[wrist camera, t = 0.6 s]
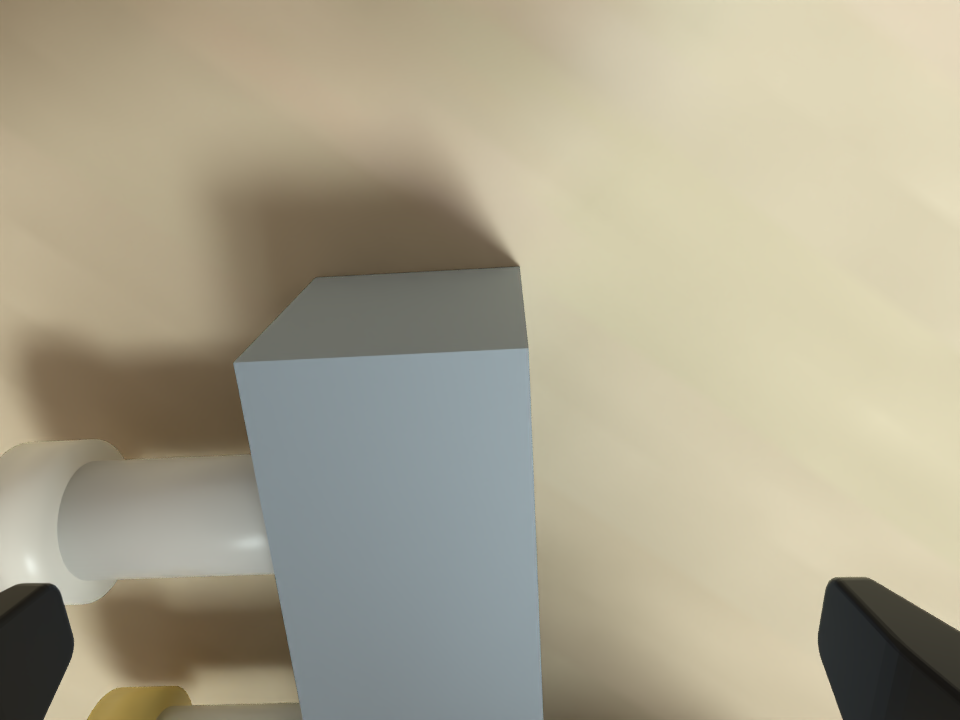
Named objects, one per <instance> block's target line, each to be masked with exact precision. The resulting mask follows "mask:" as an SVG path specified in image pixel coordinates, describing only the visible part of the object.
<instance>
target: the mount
mask: <svg viewBox="0 0 960 720" xmlns="http://www.w3.org/2000/svg"><path fill="white" fill-rule="evenodd" d="M233 364H234V369H235V374H236V379H237V384H238V389H239V395H240V400H241V405H242V410H243V415H244V420H245V425H246V430H247V436H248V441H249V446H250V451H251V456H252V461H253V466H254V471H255V477H256V482H257V487H258V492H259V497H260V502H261V507H262V512H263V518H264V523H265V528H266V533H267V538H268V543H269V548H270V553H271V559H272V564H273V569H274V574H275V579H276V584H277V589H278V595H279V600H280V605H281V610H282V615H283V620H284V625H285V630H286V636H287V641H288V646H289V651H290V656H291V661H292V666H293V671H294V677H295V682H296V687H297V692H298V697H299V702H300V707H301V712H302V718H303V720H543V699H542V674H541V649H540V624H539V599H538V575H537V550H536V525H535V500H534V475H533V450H532V425H531V400H530V375H529V350H528V340H527V331H526V321H525V312H524V303H523V294H522V284H521V275H520V267H502V268H483V269H465V270H446V271H428V272H409V273H391V274H372V275H354V276H335V277H317V278H315V279H314V280H313V281H312V282H311V283H310V284H309V285H308V286H307V287H306V288H305V289H304V290H303V291H302V292H301V293H300V294H299V295H298V296H297V297H296V298H295V299H294V300H293V301H292V302H291V304H290V305H289V306H288V307H287V308H286V309H285V310H284V311H283V312H282V313H281V314H280V315H279V316H278V317H277V318H276V319H275V320H274V321H273V322H272V323H271V324H270V325H269V326H268V327H267V328H266V329H265V330H264V331H263V332H262V334H261V335H260V336H259V337H258V338H257V339H256V340H255V341H254V342H253V343H252V344H251V345H250V346H249V347H248V348H247V349H246V350H245V351H244V352H243V353H242V354H241V355H240V356H239V357H238V358H237V359H236V360H235V361H234V362H233Z"/></svg>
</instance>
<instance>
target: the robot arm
mask: <svg viewBox="0 0 960 720" xmlns="http://www.w3.org/2000/svg"><path fill="white" fill-rule="evenodd" d="M818 647H819V653H820V657H821V660H822V663H823V665H824V668H825V671H826V674H827V677H828V679H829V682H830V685H831V688H832V691H833V693H834V696H835V699H836V702H837V705H838V707H839V710H840V713H841V716H842V719H843V720H960V631H958V630H957V629H955V628H953V627H951V626H950V625H948V624H946V623H945V622H943V621H941V620H940V619H938V618H936V617H935V616H933V615H931V614H930V613H928V612H926V611H924V610H923V609H921V608H919V607H918V606H916V605H914V604H913V603H911V602H909V601H908V600H906V599H904V598H903V597H901V596H899V595H897V594H896V593H894V592H892V591H891V590H889V589H887V588H886V587H884V586H882V585H881V584H879V583H877V582H876V581H874V580H872V579H870V578H866V577H835V578H833V579H831V580H830V581H829V582H828V584H827V587H826V590H825V596H824V602H823V608H822V613H821V619H820V625H819V631H818ZM73 649H74V638H73V633H72V630H71V626H70V623H69V619H68V616H67V612H66V609H65V605H64V602H63V598H62V595H61V592H60V590H59V589H58V588H57V586H55V585H53V584H51V583H20V584H16V585H14V586H12V587H10V588H8V589H6V590H4V591H2V592H0V720H43V719H44V717H45V715H46V713H47V711H48V708H49V706H50V704H51V702H52V700H53V698H54V695H55V693H56V691H57V689H58V687H59V685H60V682H61V680H62V678H63V676H64V674H65V672H66V669H67V667H68V665H69V663H70V660H71V658H72V654H73Z"/></svg>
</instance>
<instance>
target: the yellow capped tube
mask: <svg viewBox="0 0 960 720" xmlns="http://www.w3.org/2000/svg"><path fill="white" fill-rule="evenodd" d="M87 720H303V718H302V712H301V707H300V703H264V704H227V705H192V704H191V700H190V698H189V696H188V694H187V693H186V691H185V690H184V689H183V688H181V687H179V686H152V687H121V688H116V689H114V690H112V691H110V692H109V693H107V694H106V695H105V696H104V697H103V698H102V699H101V700H100V701H99V702H98V703H97V705H96V706H95V707H94V709H93V710H92V712H91V714H90V715H89V717H88V719H87Z"/></svg>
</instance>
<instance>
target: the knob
mask: <svg viewBox="0 0 960 720" xmlns="http://www.w3.org/2000/svg"><path fill="white" fill-rule="evenodd" d="M263 574H274V569H273V564H272V559H271V553H270V548H269V543H268V538H267V533H266V528H265V523H264V518H263V512H262V507H261V502H260V497H259V492H258V487H257V482H256V477H255V471H254V466H253V461H252V456H251V454H246V455H222V456H199V457H176V458H153V459H129V460H124V458H123V456H122V455H121V453H120V452H119V451H118V450H117V449H116V448H115V447H114V446H113V445H111V444H110V443H108V442H106V441H104V440H99V439H89V440H66V441H44V442H27V443H22V444H20V445H17V446H15V447H13V448H11V449H10V450H8V451H7V452H6V453H4V454H3V455H2V456H1V457H0V592H2V591H4V590H6V589H8V588H10V587H12V586H14V585H16V584H20V583H51V584H53V585H55V586H57V588H58V589H59V590H60V592H61V595H62V598H63V602H64V605H77V604H88V603H92V602H94V601H97V600H98V599H100V598H101V597H103V596H104V595H105V594H106V593H107V592H108V591H109V590H110V589H111V588H112V587H113V586H114V584H115V583H116V581H117V580H120V579H148V578H177V577H206V576H234V575H263Z"/></svg>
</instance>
